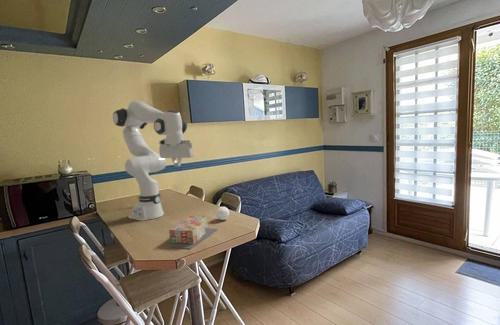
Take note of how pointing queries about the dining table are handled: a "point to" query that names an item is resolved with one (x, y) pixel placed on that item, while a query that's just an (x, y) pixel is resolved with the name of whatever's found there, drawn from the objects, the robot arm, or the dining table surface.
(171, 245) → the mat
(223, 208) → the geometric ball
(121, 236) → the dining table surface
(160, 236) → the dining table surface
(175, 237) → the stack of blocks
